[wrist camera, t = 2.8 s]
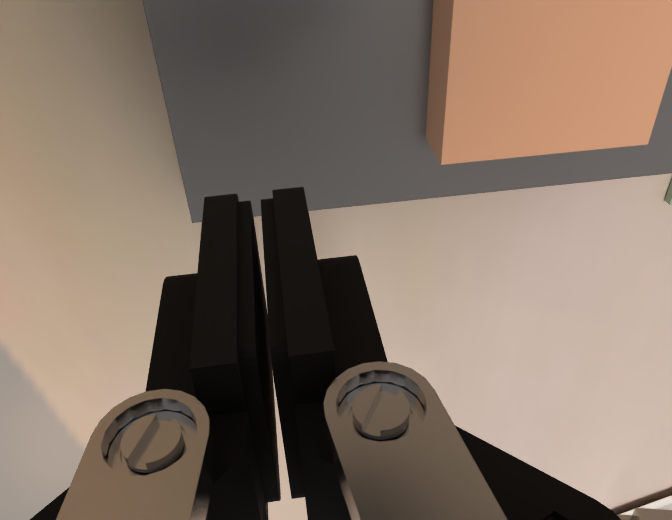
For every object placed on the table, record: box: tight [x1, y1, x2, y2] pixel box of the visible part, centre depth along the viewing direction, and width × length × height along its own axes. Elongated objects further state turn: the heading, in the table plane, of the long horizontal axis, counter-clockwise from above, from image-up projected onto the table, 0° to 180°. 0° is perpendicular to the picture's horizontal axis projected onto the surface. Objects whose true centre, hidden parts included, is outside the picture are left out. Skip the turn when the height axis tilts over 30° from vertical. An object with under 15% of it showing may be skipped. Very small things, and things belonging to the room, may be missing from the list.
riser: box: [143, 0, 672, 223], centre depth 20 cm, size 12×20×2 cm, turn 92°
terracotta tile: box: [426, 0, 672, 165], centre depth 18 cm, size 7×7×2 cm
